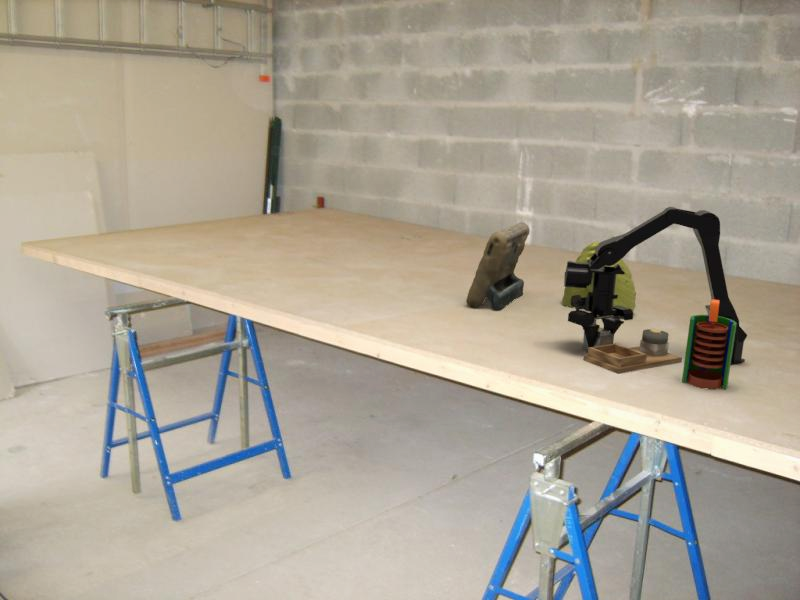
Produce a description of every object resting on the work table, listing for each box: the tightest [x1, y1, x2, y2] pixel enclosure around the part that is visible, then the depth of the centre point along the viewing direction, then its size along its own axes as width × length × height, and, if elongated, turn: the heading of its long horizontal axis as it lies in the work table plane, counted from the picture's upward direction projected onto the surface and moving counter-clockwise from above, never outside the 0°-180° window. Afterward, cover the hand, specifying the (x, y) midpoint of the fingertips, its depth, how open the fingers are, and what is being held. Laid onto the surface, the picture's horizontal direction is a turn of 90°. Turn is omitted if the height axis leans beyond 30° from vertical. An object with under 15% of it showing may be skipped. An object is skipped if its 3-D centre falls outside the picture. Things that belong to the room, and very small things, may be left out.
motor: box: [681, 298, 737, 390], centre depth 192 cm, size 10×9×20 cm
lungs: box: [561, 236, 637, 316], centre depth 261 cm, size 25×16×24 cm, turn 31°
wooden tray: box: [582, 339, 683, 375], centre depth 209 cm, size 12×23×4 cm, turn 122°
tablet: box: [466, 221, 531, 312], centre depth 268 cm, size 33×14×25 cm, turn 162°
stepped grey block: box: [582, 326, 615, 351], centre depth 217 cm, size 6×5×6 cm
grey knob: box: [641, 328, 670, 344], centre depth 213 cm, size 6×6×6 cm
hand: (597, 346), depth 218 cm, fingers closed on stepped grey block, 5 cm apart
